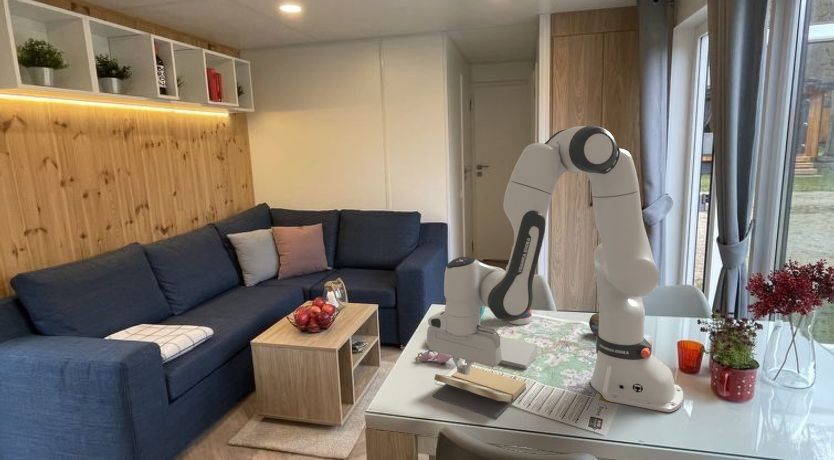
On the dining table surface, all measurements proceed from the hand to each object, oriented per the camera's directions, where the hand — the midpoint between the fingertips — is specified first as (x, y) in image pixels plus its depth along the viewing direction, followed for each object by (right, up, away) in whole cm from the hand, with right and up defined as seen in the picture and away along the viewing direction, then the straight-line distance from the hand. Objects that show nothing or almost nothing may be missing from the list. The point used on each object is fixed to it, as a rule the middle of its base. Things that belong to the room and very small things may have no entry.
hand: (463, 373), depth 123 cm
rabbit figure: (-5, -5, +25) cm, 26 cm away
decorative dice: (+9, +3, +61) cm, 62 cm away
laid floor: (+5, -7, +7) cm, 11 cm away
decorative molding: (+8, -3, +32) cm, 33 cm away
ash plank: (+2, -5, +3) cm, 7 cm away
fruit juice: (+26, +3, +56) cm, 62 cm away
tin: (+53, 0, +37) cm, 64 cm away
